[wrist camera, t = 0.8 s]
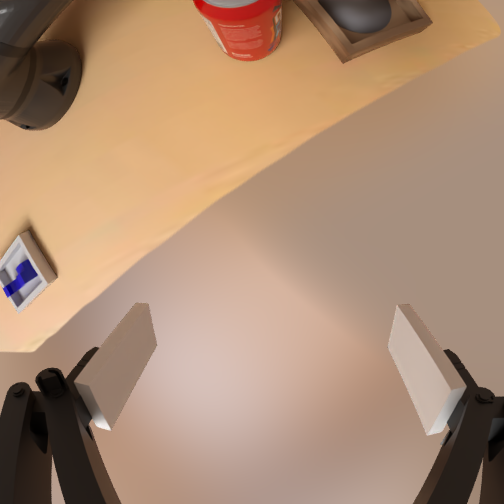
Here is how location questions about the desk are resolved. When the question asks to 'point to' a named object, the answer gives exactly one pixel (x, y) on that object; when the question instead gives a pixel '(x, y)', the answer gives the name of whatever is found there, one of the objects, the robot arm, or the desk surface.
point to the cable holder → (21, 278)
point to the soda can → (243, 26)
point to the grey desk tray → (28, 249)
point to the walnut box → (364, 23)
